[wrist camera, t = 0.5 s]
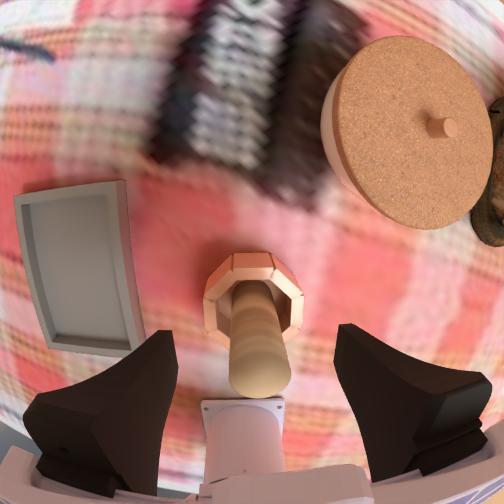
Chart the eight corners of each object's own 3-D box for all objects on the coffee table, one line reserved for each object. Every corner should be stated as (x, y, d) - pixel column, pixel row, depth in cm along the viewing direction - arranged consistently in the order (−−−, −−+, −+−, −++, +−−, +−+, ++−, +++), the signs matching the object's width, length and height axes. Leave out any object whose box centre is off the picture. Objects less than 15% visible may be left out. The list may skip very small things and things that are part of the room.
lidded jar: (354, 44, 17) (414, -9, 8) (446, 136, 19) (529, 136, 10) (271, 145, 20) (298, 130, 11) (380, 234, 22) (453, 278, 13)
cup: (292, 329, 24) (299, 351, 21) (211, 331, 23) (208, 354, 20) (296, 251, 22) (305, 266, 19) (205, 253, 22) (200, 269, 18)
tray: (147, 347, 24) (142, 359, 22) (56, 338, 23) (48, 348, 22) (125, 179, 20) (115, 181, 18) (26, 193, 19) (13, 196, 18)
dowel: (271, 314, 23) (289, 396, 14) (232, 315, 22) (230, 399, 14) (272, 278, 22) (293, 351, 13) (231, 279, 22) (227, 353, 13)
